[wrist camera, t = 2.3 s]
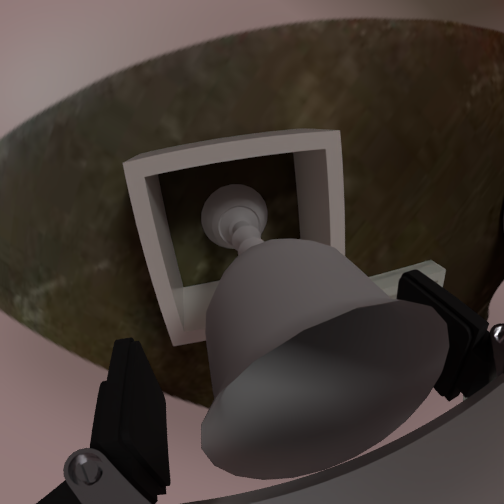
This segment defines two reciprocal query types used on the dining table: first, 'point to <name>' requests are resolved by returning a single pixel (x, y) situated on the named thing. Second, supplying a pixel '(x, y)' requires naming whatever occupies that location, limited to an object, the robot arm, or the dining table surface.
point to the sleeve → (219, 150)
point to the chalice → (305, 350)
